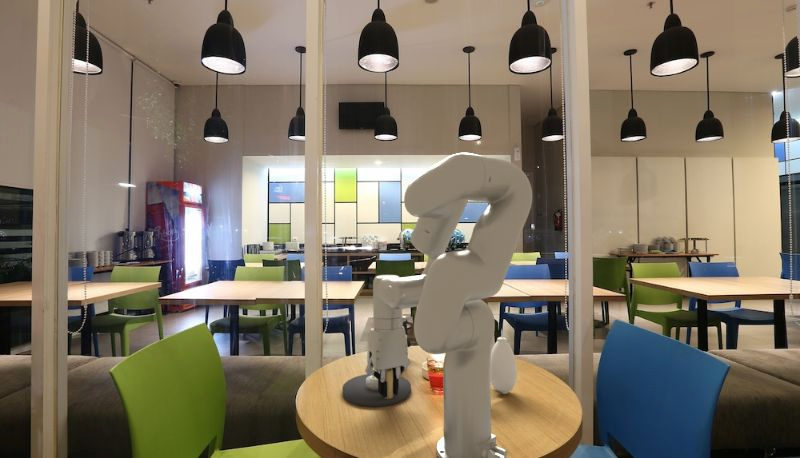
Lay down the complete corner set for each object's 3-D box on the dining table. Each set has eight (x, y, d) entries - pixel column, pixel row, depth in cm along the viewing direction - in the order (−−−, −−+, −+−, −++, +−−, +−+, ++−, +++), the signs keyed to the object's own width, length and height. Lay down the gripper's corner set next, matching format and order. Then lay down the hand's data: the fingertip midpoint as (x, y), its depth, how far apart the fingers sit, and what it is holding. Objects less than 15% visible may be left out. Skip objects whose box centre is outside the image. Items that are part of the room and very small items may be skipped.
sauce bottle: (517, 400, 99) (516, 333, 100) (487, 396, 102) (486, 331, 102) (517, 389, 107) (516, 326, 107) (489, 385, 109) (489, 324, 110)
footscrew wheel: (419, 382, 109) (419, 353, 109) (397, 411, 91) (397, 376, 91) (360, 375, 115) (360, 347, 115) (329, 401, 97) (329, 368, 97)
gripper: (407, 316, 104) (407, 383, 103) (353, 323, 96) (353, 395, 95) (421, 322, 97) (422, 392, 97) (365, 330, 89) (366, 407, 89)
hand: (388, 393), depth 96 cm, fingers closed on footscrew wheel, 2 cm apart
